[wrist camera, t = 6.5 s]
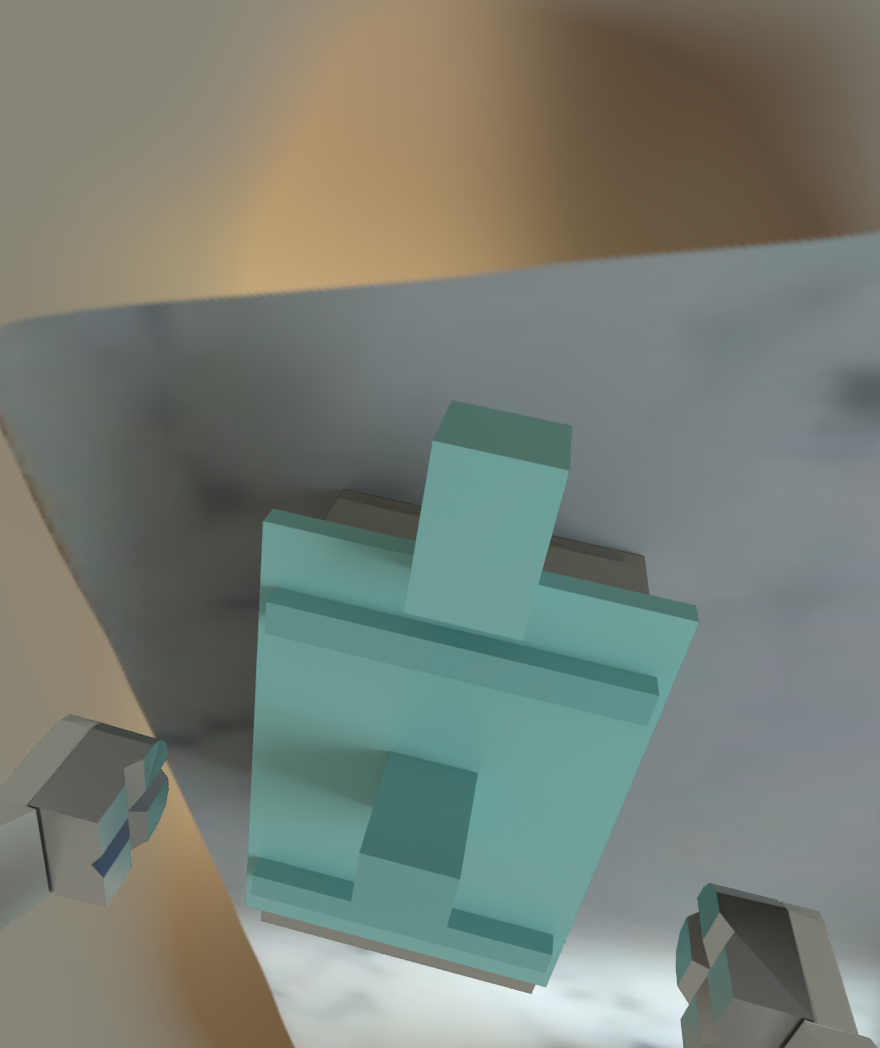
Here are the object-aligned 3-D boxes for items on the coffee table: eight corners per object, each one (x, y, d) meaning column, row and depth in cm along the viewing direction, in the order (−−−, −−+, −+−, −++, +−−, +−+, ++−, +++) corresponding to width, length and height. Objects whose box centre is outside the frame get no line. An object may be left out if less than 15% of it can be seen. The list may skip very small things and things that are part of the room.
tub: (540, 852, 38) (531, 993, 32) (312, 794, 39) (261, 920, 33) (644, 556, 29) (659, 674, 23) (343, 489, 30) (280, 585, 24)
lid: (546, 967, 31) (540, 1101, 27) (253, 888, 32) (202, 1005, 27) (753, 465, 19) (799, 563, 15) (280, 363, 20) (199, 429, 16)
